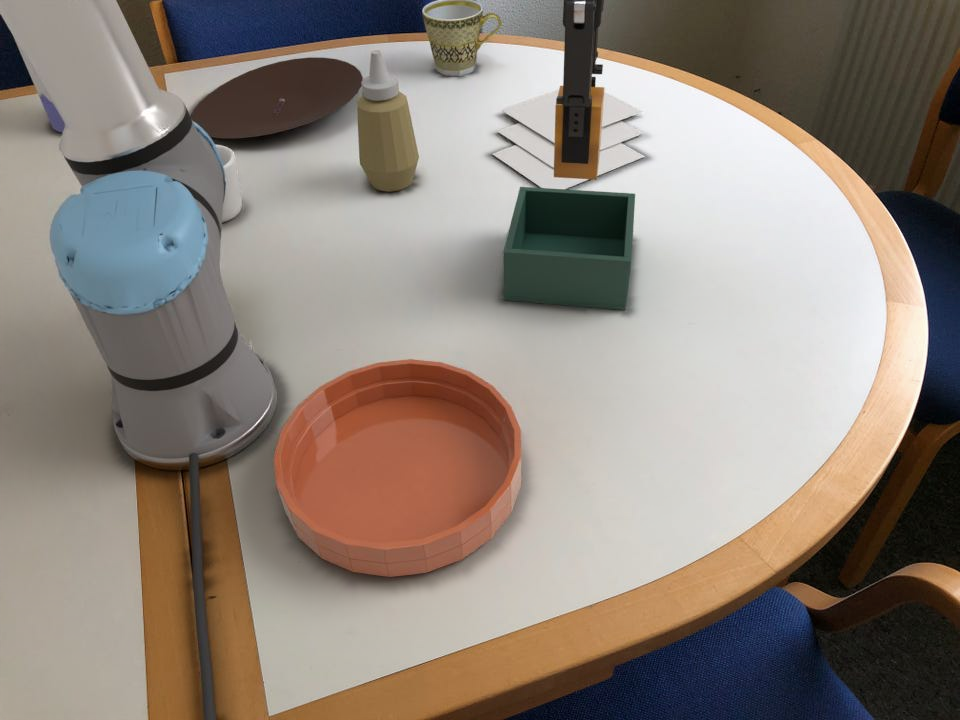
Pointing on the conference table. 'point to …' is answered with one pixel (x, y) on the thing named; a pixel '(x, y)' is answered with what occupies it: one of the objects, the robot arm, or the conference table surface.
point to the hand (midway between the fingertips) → (577, 148)
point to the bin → (569, 248)
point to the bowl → (399, 467)
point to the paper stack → (539, 139)
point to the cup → (230, 184)
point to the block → (594, 147)
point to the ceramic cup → (455, 34)
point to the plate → (277, 97)
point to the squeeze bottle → (385, 130)
